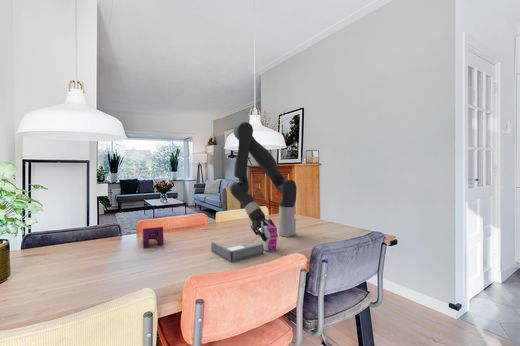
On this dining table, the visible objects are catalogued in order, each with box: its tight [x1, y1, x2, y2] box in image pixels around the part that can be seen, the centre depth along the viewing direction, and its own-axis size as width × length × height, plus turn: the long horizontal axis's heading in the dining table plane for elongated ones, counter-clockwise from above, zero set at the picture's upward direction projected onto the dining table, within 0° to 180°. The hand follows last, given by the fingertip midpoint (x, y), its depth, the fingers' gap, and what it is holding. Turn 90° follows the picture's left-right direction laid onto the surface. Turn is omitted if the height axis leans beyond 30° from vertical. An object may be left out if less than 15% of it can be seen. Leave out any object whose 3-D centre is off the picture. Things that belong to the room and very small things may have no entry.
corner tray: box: [210, 241, 264, 263], centre depth 126 cm, size 18×18×4 cm
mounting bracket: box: [142, 226, 164, 248], centre depth 141 cm, size 9×8×18 cm
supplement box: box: [261, 225, 278, 252], centre depth 130 cm, size 6×6×12 cm
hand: (271, 238), depth 129 cm, fingers closed on supplement box, 7 cm apart
